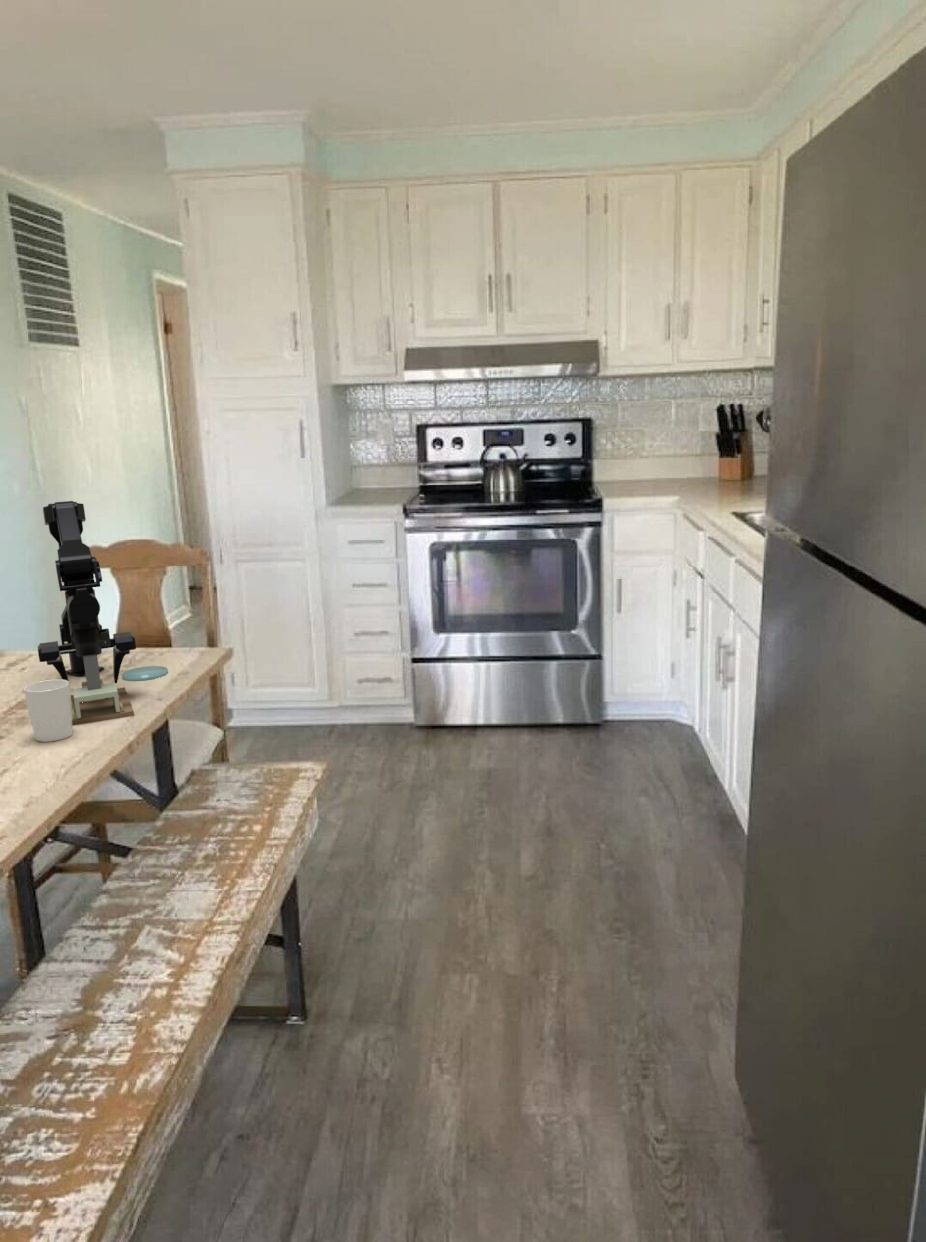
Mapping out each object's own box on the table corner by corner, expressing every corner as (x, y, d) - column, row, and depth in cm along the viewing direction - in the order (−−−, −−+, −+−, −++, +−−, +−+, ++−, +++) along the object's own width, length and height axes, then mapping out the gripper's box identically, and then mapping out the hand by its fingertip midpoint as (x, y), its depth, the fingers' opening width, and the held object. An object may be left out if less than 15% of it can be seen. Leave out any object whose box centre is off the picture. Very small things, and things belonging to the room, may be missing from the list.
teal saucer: (113, 677, 224) (112, 674, 224) (150, 667, 232) (149, 663, 231) (140, 683, 218) (139, 680, 218) (177, 672, 226) (176, 669, 225)
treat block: (84, 700, 207) (81, 681, 206) (104, 697, 209) (101, 679, 208) (85, 705, 204) (82, 686, 203) (105, 702, 205) (103, 683, 204)
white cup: (60, 743, 181) (53, 692, 179) (22, 742, 183) (14, 691, 181) (84, 729, 189) (77, 679, 186) (48, 728, 190) (40, 678, 188)
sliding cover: (75, 709, 197) (68, 657, 195) (117, 702, 200) (110, 652, 198) (77, 718, 191) (69, 665, 189) (120, 711, 194) (113, 659, 192)
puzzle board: (60, 701, 207) (59, 695, 207) (125, 691, 212) (124, 685, 212) (64, 727, 190) (63, 721, 190) (134, 716, 195) (133, 709, 195)
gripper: (33, 627, 191) (45, 704, 195) (134, 615, 198) (143, 689, 202) (33, 616, 201) (44, 689, 205) (128, 605, 208) (137, 676, 212)
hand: (92, 686), depth 205 cm, fingers open, 9 cm apart
